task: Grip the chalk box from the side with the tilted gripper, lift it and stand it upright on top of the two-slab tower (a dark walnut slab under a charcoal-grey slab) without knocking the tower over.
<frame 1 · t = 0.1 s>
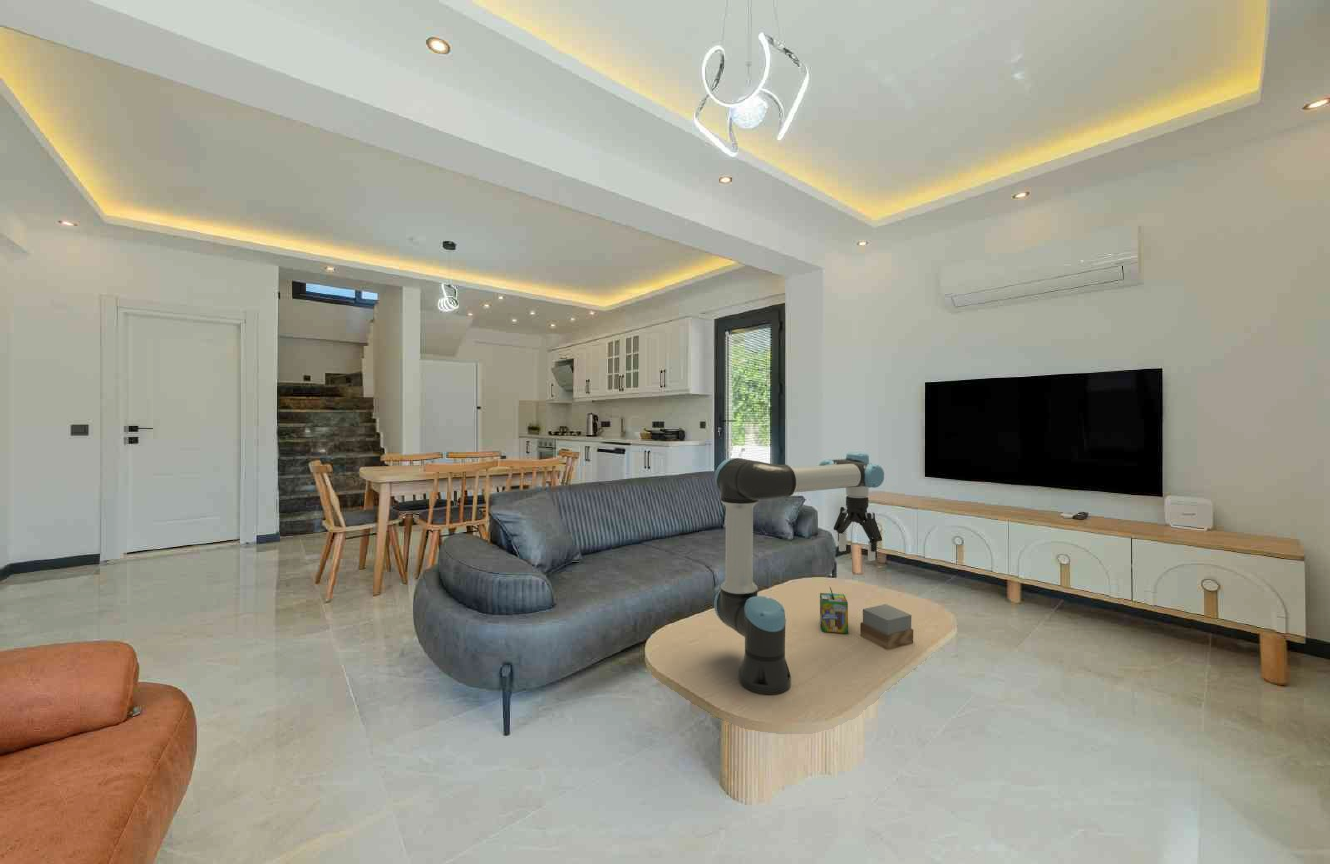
hand: (856, 555, 186), 28 cm above the table, fingers open, 13 cm apart
tower bottom slab: (886, 640, 182), on the table, touching tower top slab
tower top slab: (886, 625, 181), point 5 cm above the table, touching tower bottom slab
chalk box: (833, 628, 191), on the table
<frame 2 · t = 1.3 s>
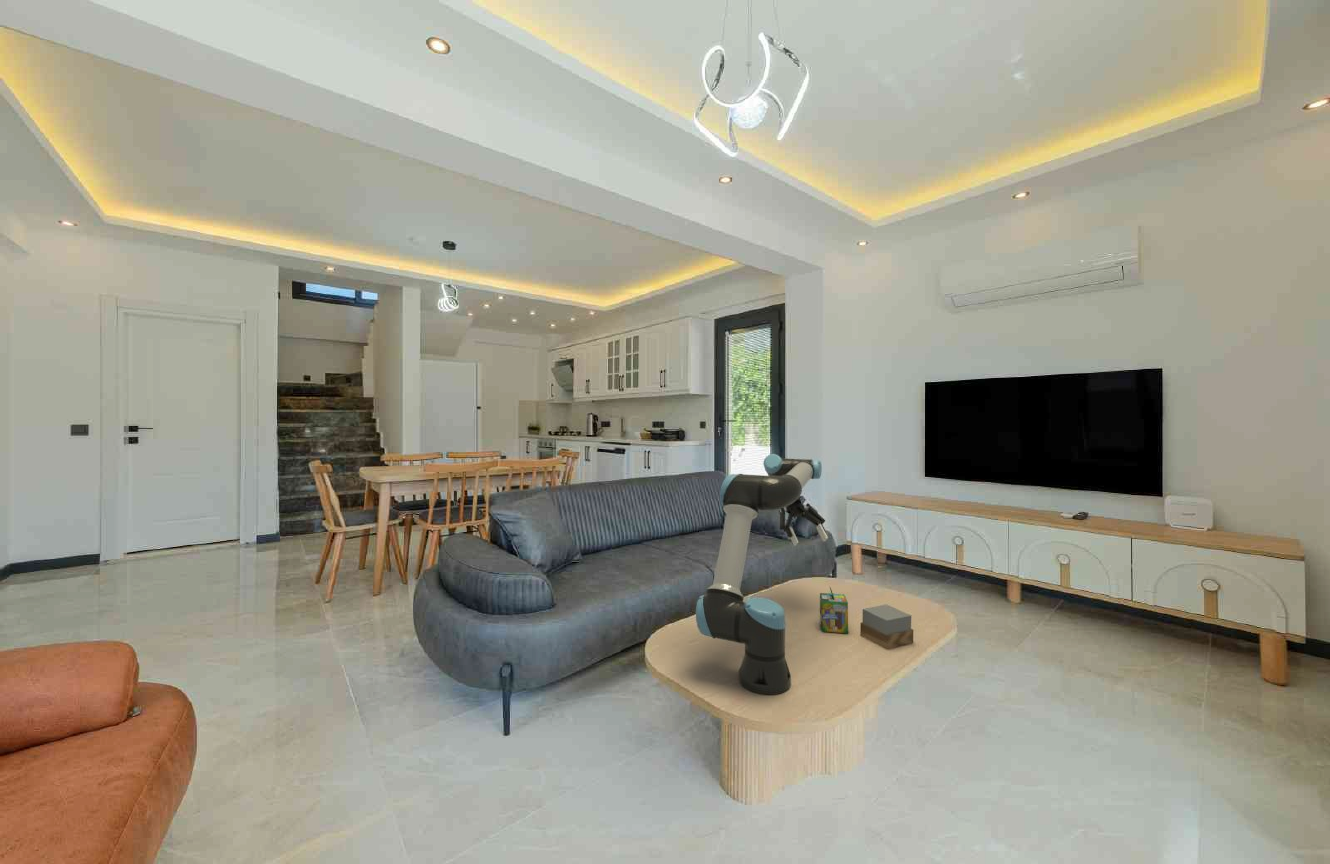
hand: (811, 541, 202), 29 cm above the table, fingers open, 13 cm apart
nothing on the table moved.
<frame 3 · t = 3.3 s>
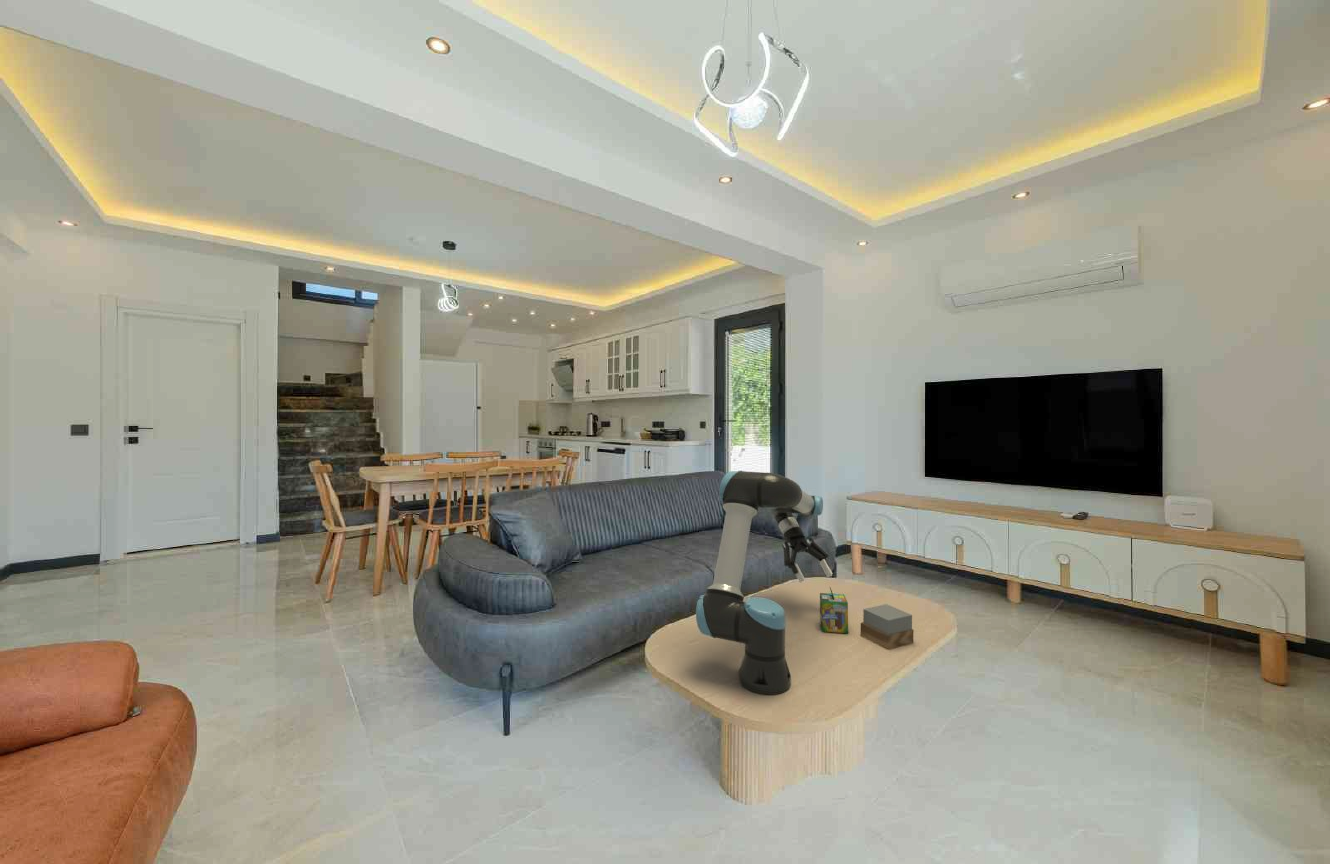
hand: (816, 578, 199), 16 cm above the table, fingers open, 13 cm apart
tower bottom slab: (886, 640, 182), on the table
tower top slab: (887, 625, 181), point 5 cm above the table
everything else where it was.
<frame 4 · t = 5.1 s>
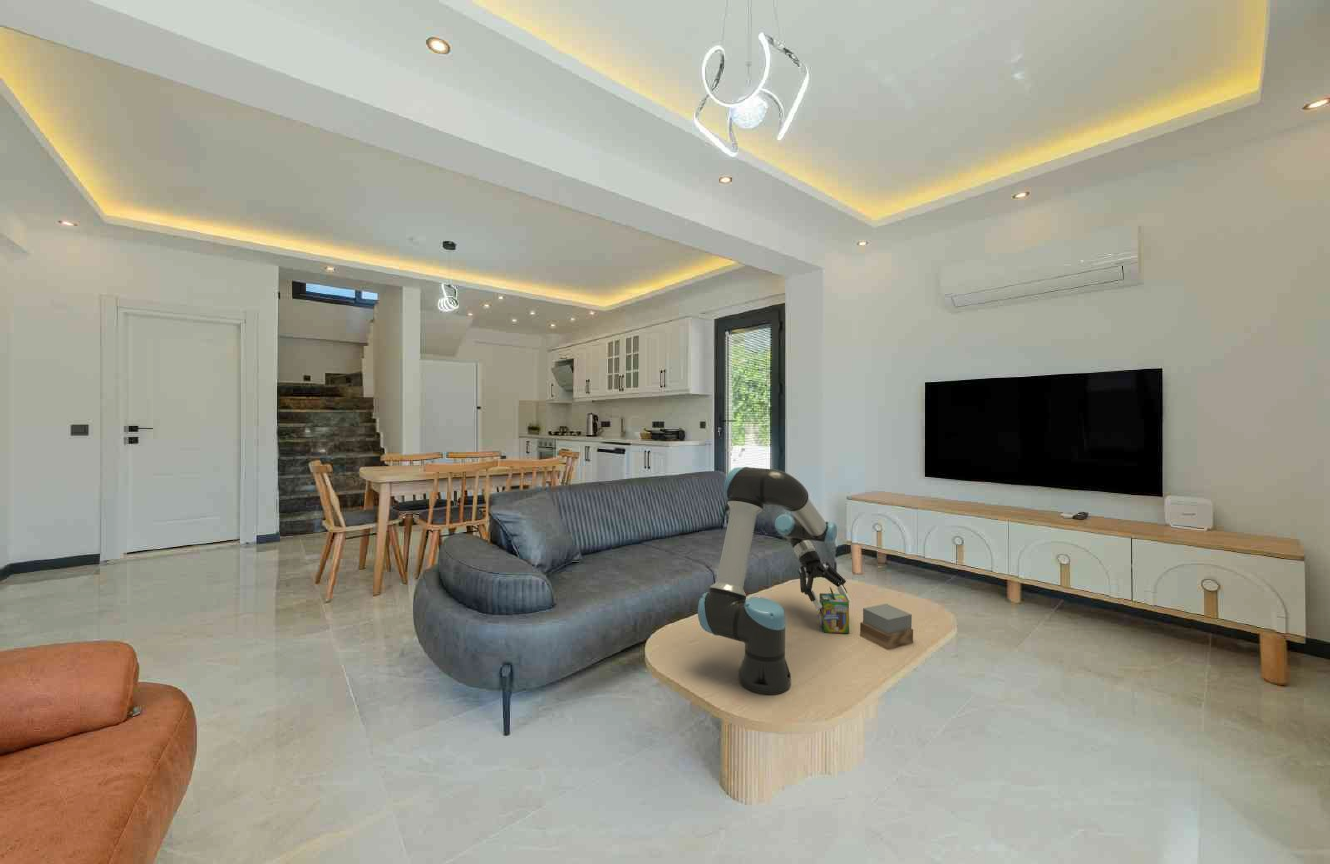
hand: (834, 605, 191), 8 cm above the table, fingers open, 13 cm apart
tower bottom slab: (886, 639, 182), on the table, touching tower top slab
tower top slab: (886, 625, 182), point 5 cm above the table, touching tower bottom slab
chalk box: (833, 628, 191), on the table, touching gripper
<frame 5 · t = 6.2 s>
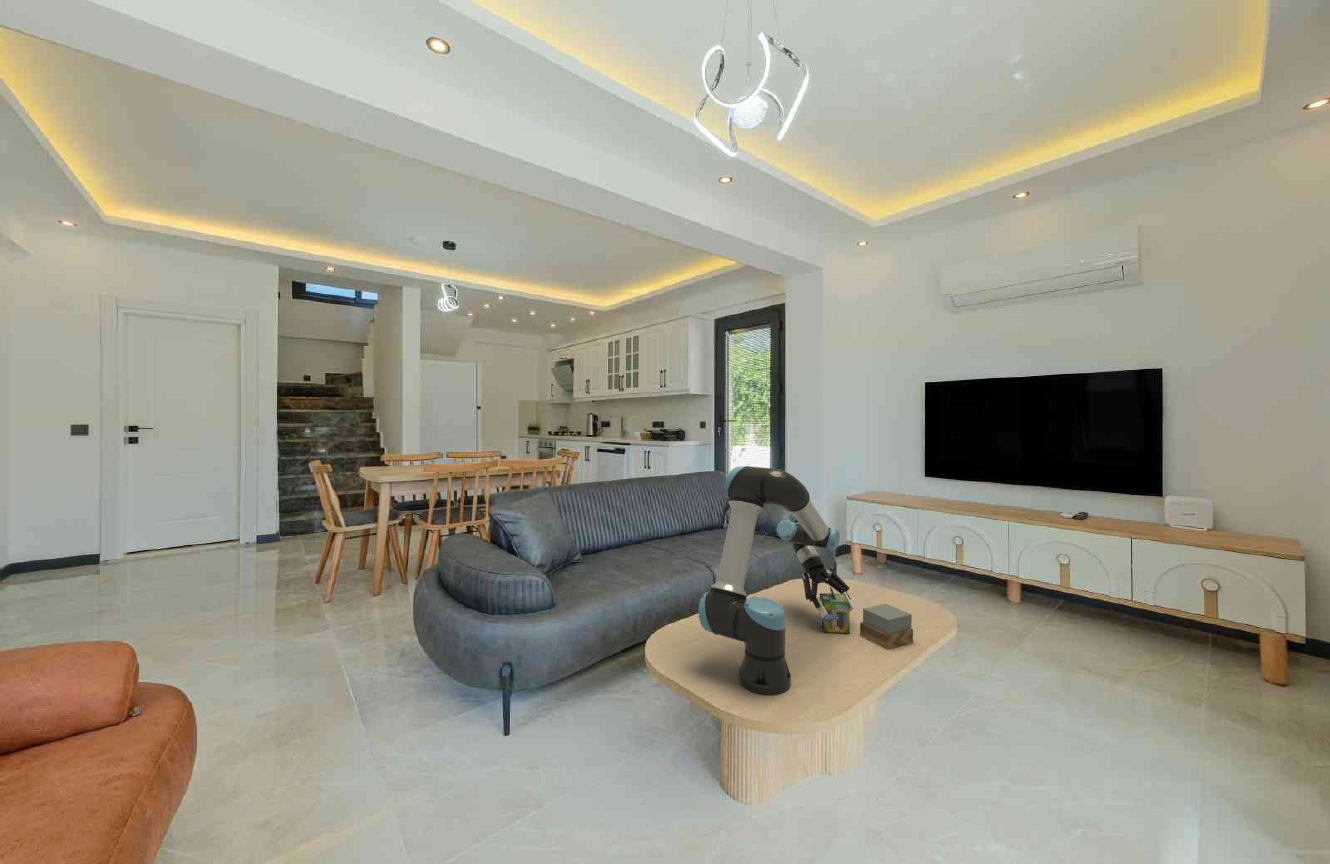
hand: (838, 612, 188), 6 cm above the table, fingers closed on chalk box, 12 cm apart
chalk box: (833, 628, 191), on the table, touching gripper
everything else where it was.
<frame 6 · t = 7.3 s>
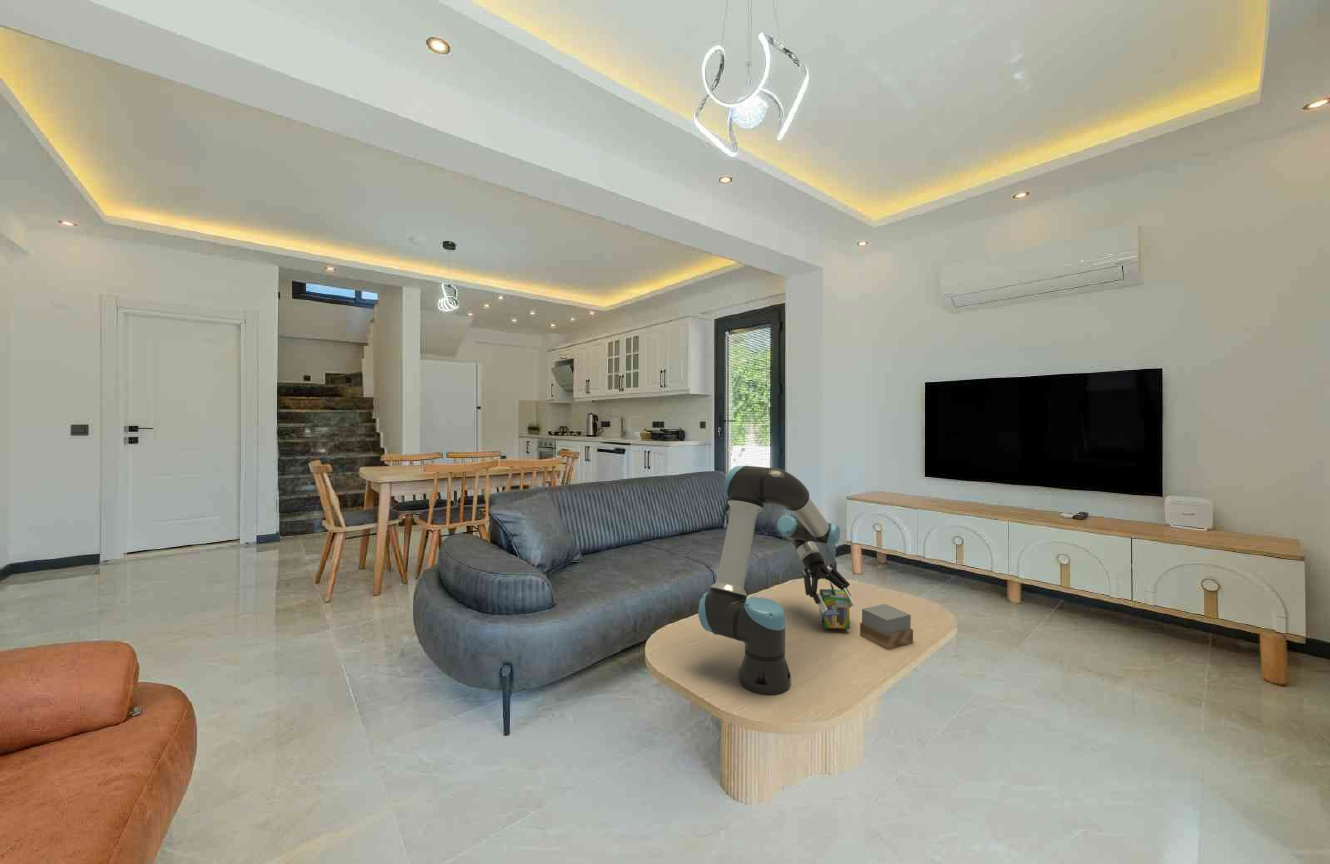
hand: (838, 608, 188), 8 cm above the table, fingers closed on chalk box, 12 cm apart
tower bottom slab: (886, 640, 182), on the table
tower top slab: (885, 625, 182), point 5 cm above the table
chalk box: (833, 624, 191), point 1 cm above the table, touching gripper
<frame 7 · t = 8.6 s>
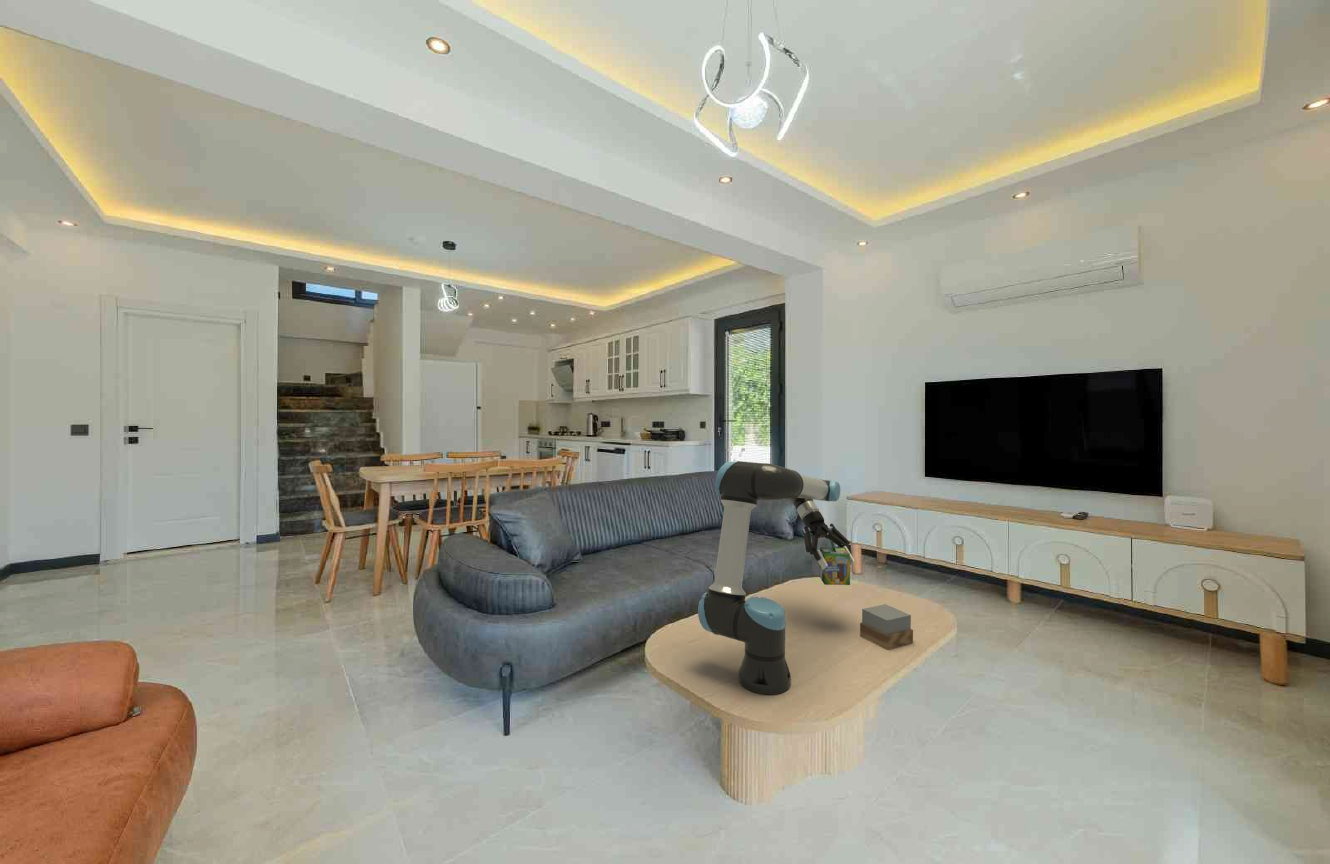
hand: (839, 565, 188), 24 cm above the table, fingers closed on chalk box, 12 cm apart
tower bottom slab: (886, 640, 181), on the table, touching tower top slab
tower top slab: (885, 625, 182), point 5 cm above the table, touching tower bottom slab
chalk box: (834, 581, 190), point 17 cm above the table, touching gripper
when the fingers open (18 cm above the table, at t = 12.0 s): chalk box drops 2 cm, resting on tower top slab.
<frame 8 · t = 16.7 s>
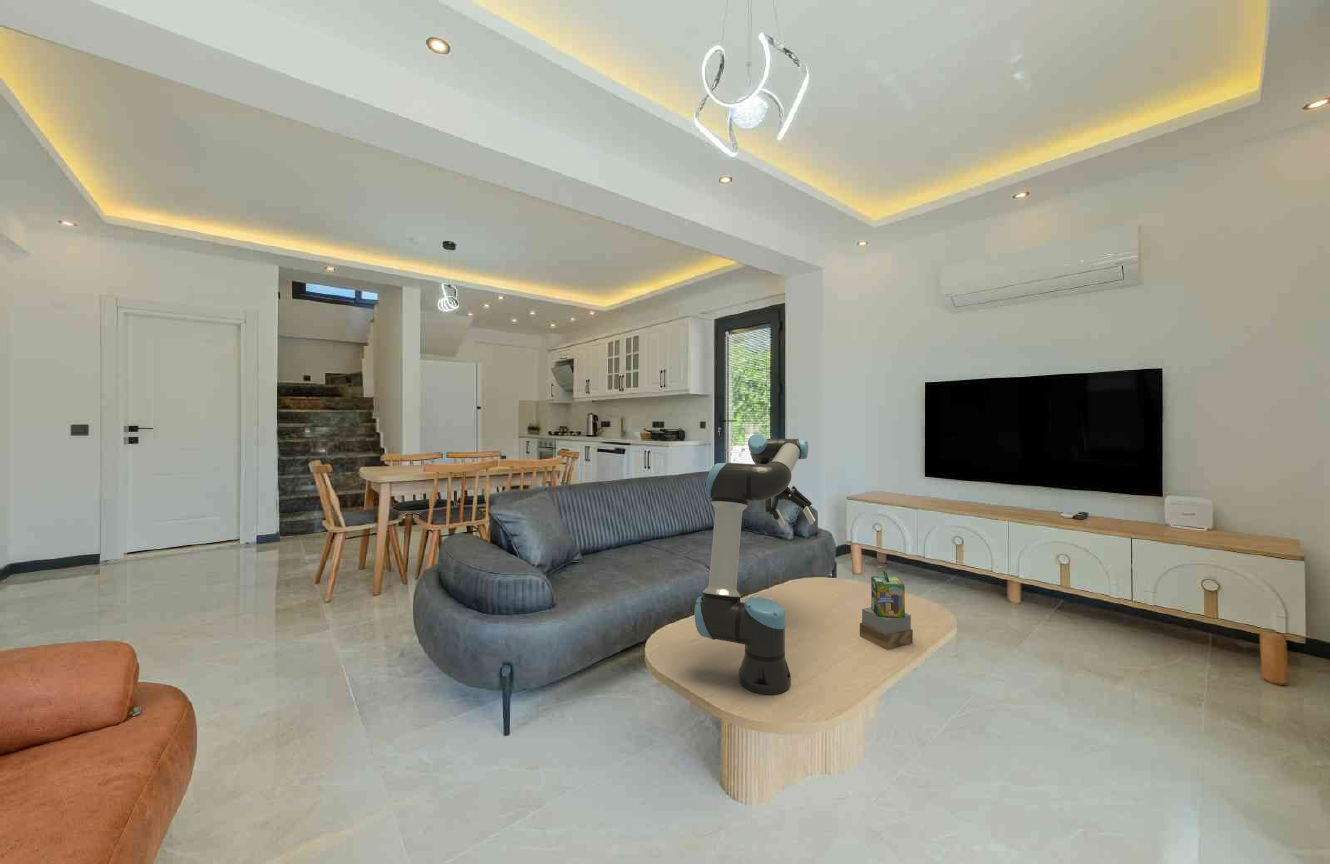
hand: (798, 524, 192), 38 cm above the table, fingers open, 13 cm apart
tower top slab: (885, 626, 181), point 5 cm above the table, touching chalk box, tower bottom slab
chalk box: (887, 613, 181), point 9 cm above the table, touching tower top slab
everything else where it was.
at the end: chalk box 0.5 cm off-centre on the tower top slab, point 4.8 cm above the tower top slab's base; chalk box tilted 0°; tower top slab 0.0 cm off-centre on the tower bottom slab, point 5.0 cm above the tower bottom slab's base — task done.
